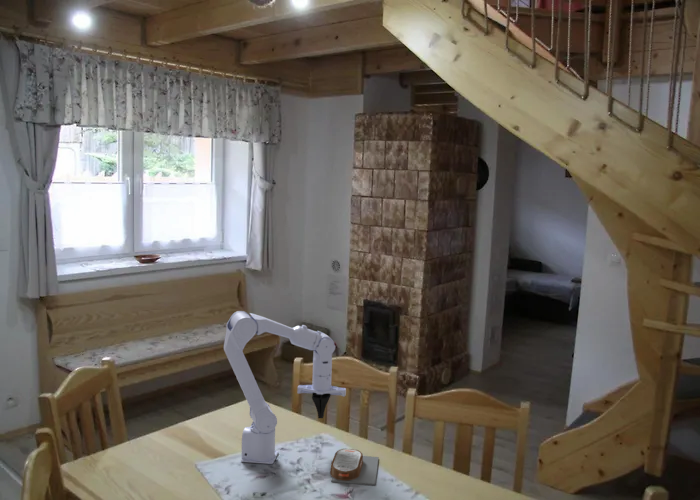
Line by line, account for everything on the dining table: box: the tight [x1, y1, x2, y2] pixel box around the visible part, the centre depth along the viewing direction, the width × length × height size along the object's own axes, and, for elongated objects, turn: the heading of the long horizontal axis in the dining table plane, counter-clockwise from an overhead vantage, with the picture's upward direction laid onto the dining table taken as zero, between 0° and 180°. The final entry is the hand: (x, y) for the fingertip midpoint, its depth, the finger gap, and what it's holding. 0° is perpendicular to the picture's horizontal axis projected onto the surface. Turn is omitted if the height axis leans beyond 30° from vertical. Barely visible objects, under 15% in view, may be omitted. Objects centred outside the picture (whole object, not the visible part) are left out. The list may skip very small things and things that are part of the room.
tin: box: [329, 448, 364, 481], centre depth 170 cm, size 15×3×8 cm
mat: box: [330, 455, 380, 486], centre depth 171 cm, size 12×16×1 cm
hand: (321, 417), depth 182 cm, fingers closed
